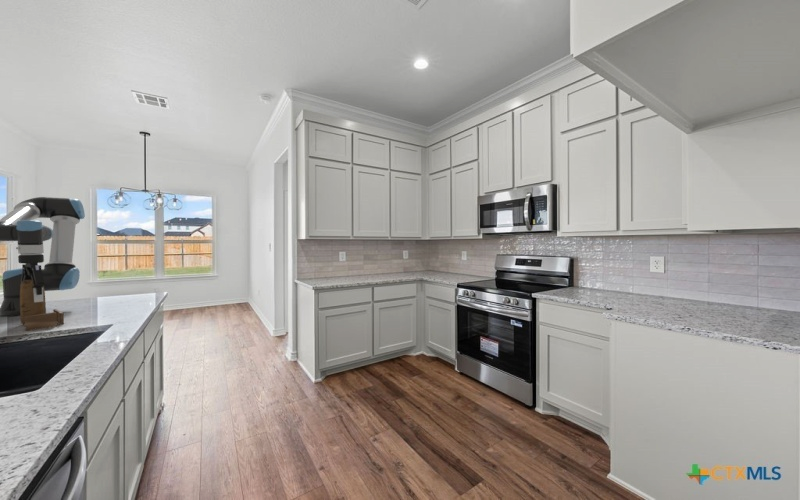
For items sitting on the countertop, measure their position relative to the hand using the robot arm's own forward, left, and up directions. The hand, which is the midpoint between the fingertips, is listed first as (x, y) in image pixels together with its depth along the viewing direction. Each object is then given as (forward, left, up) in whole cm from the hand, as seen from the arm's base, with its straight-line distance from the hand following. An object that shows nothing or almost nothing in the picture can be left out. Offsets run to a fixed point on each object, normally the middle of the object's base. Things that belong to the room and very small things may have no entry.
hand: (33, 300), depth 144 cm
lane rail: (+8, +6, -10) cm, 14 cm away
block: (0, 0, -10) cm, 10 cm away
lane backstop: (+15, -2, -10) cm, 18 cm away
